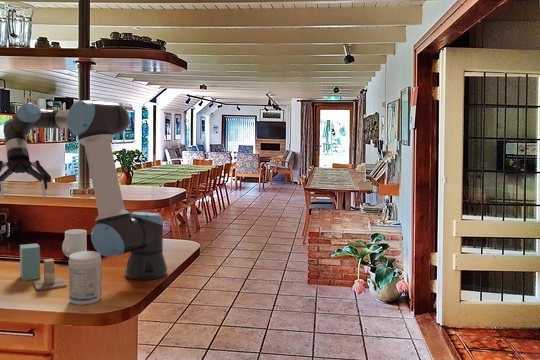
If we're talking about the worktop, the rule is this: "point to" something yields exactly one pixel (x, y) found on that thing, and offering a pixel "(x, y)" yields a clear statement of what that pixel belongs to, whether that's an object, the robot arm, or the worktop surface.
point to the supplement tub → (85, 277)
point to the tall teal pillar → (30, 261)
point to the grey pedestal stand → (49, 278)
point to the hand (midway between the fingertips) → (23, 196)
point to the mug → (74, 241)
